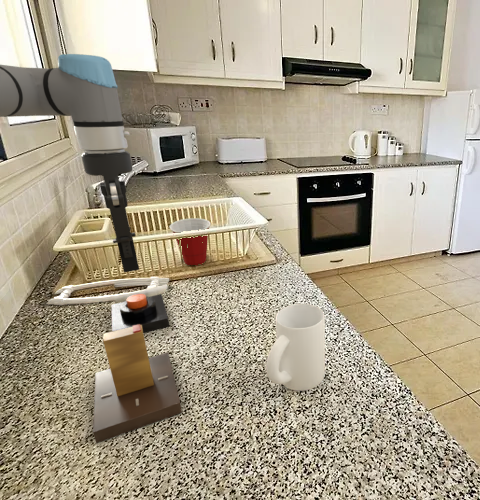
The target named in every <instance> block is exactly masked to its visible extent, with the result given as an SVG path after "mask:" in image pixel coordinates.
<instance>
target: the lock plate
mask: <svg viewBox="0 0 480 500" xmlns="http://www.w3.org/2000/svg"><path fill="white" fill-rule="evenodd" d="M149 362H150V367H151V372H152V376H153V382H154V385H153V386H150V387H146V388H143V389H140V390H137V391H134V392H131V393H127V394H124V395H121V396H117V393H116V389H115V385H114V381H113V377H112V373H111V370H110V368H107V369H103V370H100V371H97V372H95V375H94V376H95V377H94V397H93V398H94V399H93V420H92V421H93V423H92V434H93V437H94V440H95V443H96V444H100V443H101V442H104V441H107V440H109V439H113V438H116V437H119V436H121V435H123V434H126V433H129V432H132V431H135V430H137V429H141V428H144V427H145V426H150V425H151V424H154V423H157V422H161V421H163V420H165V419H169V418H171V417H174V416H177V415H179V414H182V413H183V409H182V405H181V399H180V396H179V392H178V387H177V383H176V379H175V375H174V371H173V367H172V363H171V359H170V354H169V352H164V353H160V354H158V355H154V356H150V357H149Z"/></svg>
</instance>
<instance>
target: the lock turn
mask: <svg viewBox="0 0 480 500" xmlns="http://www.w3.org/2000/svg"><path fill="white" fill-rule="evenodd" d="M102 342H103V346H104V350H105V354H106V358H107V361H108V366H109V369H110V370H111V373H112V377H113V381H114V385H115V389H116V393H117V396H121V395H124V394H127V393H131V392H134V391H137V390H140V389H143V388H146V387H150V386H153V385H154V382H153V376H152V372H151V367H150V362H149V358H150V357H149V354H148V353H149V352H148V348H147V343H146V339H145V333H143V329H142V325H140V324H138V325H134V326H133V327H130V328H125V329H121V330H117V331H113V332H112V331H109V332H104V333H103V334H102Z"/></svg>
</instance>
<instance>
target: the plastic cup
mask: <svg viewBox="0 0 480 500" xmlns="http://www.w3.org/2000/svg"><path fill="white" fill-rule="evenodd" d="M211 225H212V223H211V222H210V220H208V219H205V218H201V217H200V218H198V217H196V218H193V217H191V218H183V219H178V220H176V221H174V222H172V223H170V225H169V226H168V227H169V229H170V232H172V234H173V233H181V232H183V231H191V230H198V231H199V229H201V230H205V229H209V230H210V227H211ZM175 240H176V243H177V246H178V249H179V250H180V247H179V240H178V239H176V238H175ZM180 240H181V246H182V254H181V256H182V255H183V257H182V260H183V263H184V264H185V265H186V264H187V265H186V266H188V265H197V266H199V265H198V264H201V265H203V264H202V263H204V262H205V261H207V252H208V242H209V241H208V240H209V235H208V236H203V237H201V236H198V237H195V238H193V237H191V238H182V239H180ZM202 242H203V243H202ZM187 244H188V248H187ZM205 263H206V262H205ZM205 263H204V264H205Z"/></svg>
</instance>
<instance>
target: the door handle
mask: <svg viewBox="0 0 480 500" xmlns="http://www.w3.org/2000/svg"><path fill="white" fill-rule="evenodd" d="M169 282H170V278H169V277H159V276H150V277H134V278H133V277H131V278H119V279H110V280H103V281H102V280H101V281H95V282H89V283H83V284H82V283H81V284H77V285H73V284H71V285H66V286H62V287H60V288H59V289H57V290H56V291H55V292H54V295H58V294H59V295H58V296H54V297H53V298H50V299H49V300H48V301H47V302H46V305H54V306H63V305H80V304H81V305H82V304H92V303H102V302H110V301H114V304H117V303H121V302H124V301H127V300H126V299H127V298H128V297H130V296H132V295H135V294H144V295H146V296H147V297H150V296H155V295H160V294H162V295H163V294H164V293H165V292H166V291H167V290H168V287H169V285H168V284H169ZM110 285H113V286H114V287H113V288H123V287H137V286H147V287H146V288H145V289H141V290H140V289H139V290H136V291H129V292H124V293H117V294H109V295H102V296H91V297H75V298H69V297H70V296H71V293H73V292H74V291H77V290H83V289H89V288H94V287H102V286H110Z"/></svg>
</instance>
